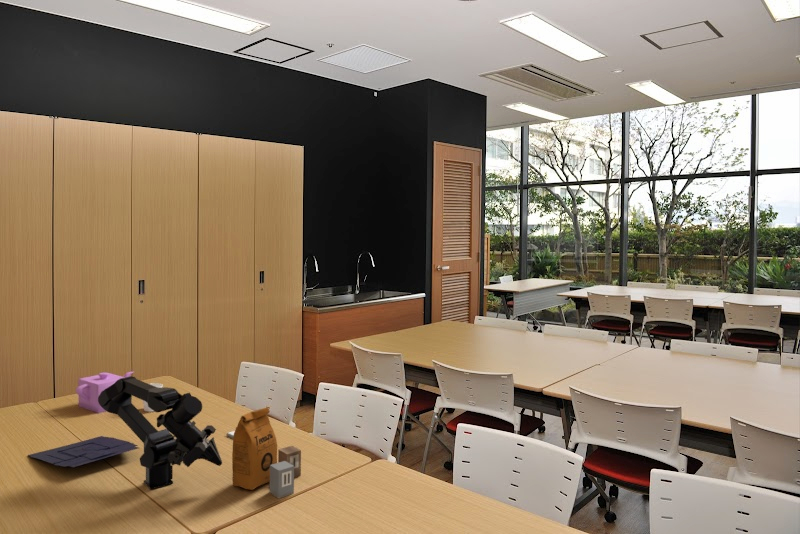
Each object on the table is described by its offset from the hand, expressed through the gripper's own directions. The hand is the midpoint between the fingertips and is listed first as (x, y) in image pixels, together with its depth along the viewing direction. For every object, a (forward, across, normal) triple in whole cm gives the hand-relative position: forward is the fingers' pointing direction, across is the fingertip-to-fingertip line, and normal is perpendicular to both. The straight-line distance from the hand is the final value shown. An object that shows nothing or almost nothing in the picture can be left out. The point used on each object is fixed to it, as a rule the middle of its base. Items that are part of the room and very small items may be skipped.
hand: (220, 464), depth 170 cm
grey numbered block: (+18, +4, +8) cm, 20 cm away
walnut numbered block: (+19, -8, +9) cm, 22 cm away
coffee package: (+12, -3, +2) cm, 12 cm away
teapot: (-38, -84, -49) cm, 104 cm away
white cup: (-23, -77, -34) cm, 87 cm away
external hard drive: (+7, -45, -4) cm, 46 cm away
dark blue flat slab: (-28, -26, -39) cm, 55 cm away
